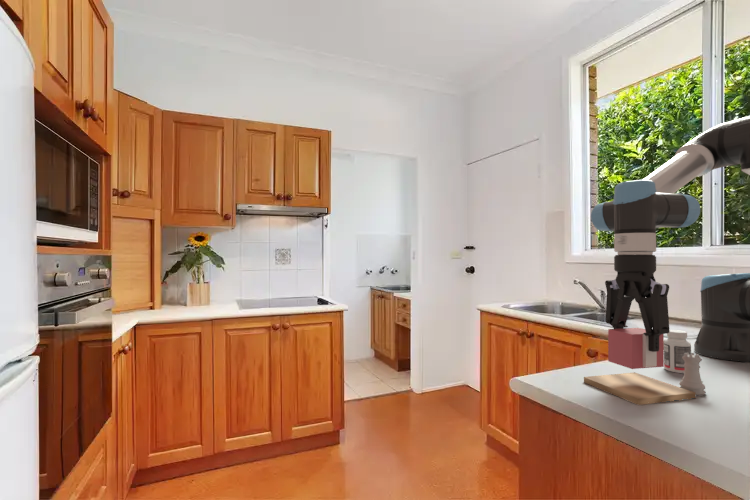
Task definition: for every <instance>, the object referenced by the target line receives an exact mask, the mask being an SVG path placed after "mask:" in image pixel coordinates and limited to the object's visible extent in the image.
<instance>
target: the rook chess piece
mask: <svg viewBox="0 0 750 500" xmlns="http://www.w3.org/2000/svg"><path fill="white" fill-rule="evenodd" d="M700 355H701V354H698V353H694V352H691V355H689V353H684V356H683V357H682V358H683V360H684V361H685V364H684V366H685V371H684V373H683V377H682V378H681V380H680V381H679V384H678V385H679V387H680V388H683V389H686V390H689V391H692V392H695V395H696V396H697V395H702V396H705V394H706V393H707V391H706V390H705V389H706V385H705V384H703V382H704V381H702V378H701V374H700V373H701V372H700V369H701V366H700V363H701V362H702V358H701V357H700Z"/></svg>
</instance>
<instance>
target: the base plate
mask: <svg viewBox="0 0 750 500" xmlns="http://www.w3.org/2000/svg"><path fill="white" fill-rule="evenodd" d="M583 383H584V384H587V385H590V386H592V387H594V388H597V389H599V390H602V391H604V392H606V393H608V394H610V395H613V396H616V397H618V398H620V399H623V400H625V401H627V402H629V403H632V404H635V405H637V406H642V405H650V404H657V403H659V404H660V402H661V403H667V402H666V401H670V402H675V401H674V400H679V401H683V400H682V399H688V400H692V399H691V398H697V397H696V396H697V395H695V392H692V391H689V390H686V389H683V388H680V387H681V386H677V385H674V384H671V383H669V382H664V381H662V380H659V379H655V378H653V377H650V376H646V375H643V374H640V373H637V372H634V371H633V372H626V373H624V372H623V373H613V374H601V375H591V376H584V377H583Z"/></svg>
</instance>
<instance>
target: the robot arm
mask: <svg viewBox="0 0 750 500" xmlns="http://www.w3.org/2000/svg"><path fill="white" fill-rule="evenodd" d="M735 165H736V166H737V165H740V167H741V168H740V169H741V172H743V173H745V174H746V175H748V176H750V115H747V116H744V117H740V118H737V119H734V120H733V119H732V120H729V121H726V122H723V123H722V122H721V123H720V124H717V125H714V126H713V127H711V128H709V129H707V130H706V131H704V132H702V133H700V134H698V135H697V136H695V137H694V138H693V139H691V140H689V141H688V142H686V143H685V144H683V145H682V146H680V147H679V148H678V150H676V152H675V154H674V156H673V157H671V159H669V160H668V161H667V162H665V163H663V164H662V165H661V166H659V167H658V168H656V169H655V170H654V171H652V172H651V173H650V174H648V175H647V176H645V177H644V178H642V179H637V180H636V179H634V180H627V181H622V182H619V183H618V184H616V185H615V187H614V192H613V193H614V194H613V200H611V201H604V202H602V203H598V204H596V205H594V207H593V208H592V210H591V213H590V221H591V222H592V225H593V226H594V228H595V229H596V230H598V231H600V232H613V243H614V244H613V246H614V249H613V250H614V252H615V253H617V254H615V255H614V257H613V262H614V263H613V264H614V266H613V268H614V269H613V270H614V271H615V272H617V275H616V277H615V279H610V280H609V279H608V280H605V282H604V284H605V288H606V301H605V305H606V306H605V323H606V324H608V325H611V326H612V329H623V328H628V327H629V326H628V325H627V322H628V317H629V313H630V310H631V305H632V302H633V301H635V302H636V303H637V305H638V308H639V311H640V316H641V319H642V323H643V325H644V329H645V330H646V333H643V334H644V335H643V367H652V368H658V367H657V351H659V336H660V335H661V334H665V335H667V333H669V331H670V330H671V329H670V320H669V319H670V318H669V304H668V303H669V302H668V293H669V290H670V285H669V284H668V283H660V282H657V281H656V278H655V277H654V274H655V273H656V271H657V256H656V255H655V254H653V253H655V252H657V232H656V231H657V229H659V228H661V229H662V228H672V229H679V228H687V227H689V226H691V225H693V224H694V223H695V222H696V221H697V220H698V219H699V216H700V215H701V205H700V203H699V201H698V200H697V198H696V197H694V196H692V195H689V194H684V193H681V192H677V191H679V190H680V189H682V188H683V187H684V186H686V185H687V184H688V183H689V182H691V181H693V179H695V178H697V177H702V176H705V175H707V174H709V172H711V171H713V170H717V169H720V168H726V167H729V166H731V167H732V166H735ZM700 282H701V283H700V291H699V292H700V309H701V310H700V312H701V313H700V314H701V327H700V328H699V331H698V334H697V335H696V338H695V341H694V345H693V346H694V347H693V349H694V352H695V354H699V355H701V356H704V357H709V358H714V359H719V360H726V361H734V362H746V363H750V272H745V273H744V272H743V273H724V274H714V275H713V274H711V275H705V276H704V277H703V278H701V281H700Z"/></svg>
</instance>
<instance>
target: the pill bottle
mask: <svg viewBox="0 0 750 500" xmlns="http://www.w3.org/2000/svg"><path fill="white" fill-rule="evenodd" d="M669 330H670V331H669V333H667V334H666V337H667V338H665V339H664V369H665V370H666V371H668V372H671V373H672V372H673V373H677V374H684V371H685V366H684V364H685V361H684V360H683V358H682V357H683V356H684V353H689V355H691V353H692V344H691V342H690V341H689V340H687V338H688V332H687V331H685V330H680V329H669Z"/></svg>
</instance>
